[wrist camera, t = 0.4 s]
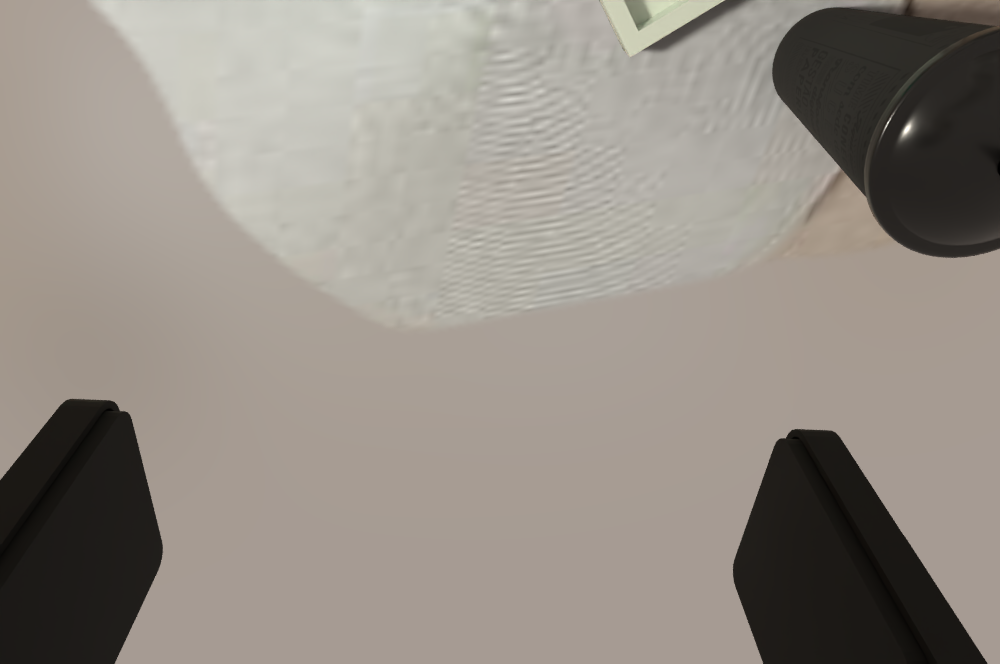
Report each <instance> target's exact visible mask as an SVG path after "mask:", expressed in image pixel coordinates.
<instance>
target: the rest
mask: <svg viewBox="0 0 1000 664" xmlns="http://www.w3.org/2000/svg"><path fill="white" fill-rule="evenodd" d="M723 1H724V0H600V2H601V4H602V6H603V9H604V11H605V13H606V15H607V17H608V19H609V21H610V23H611V25H612V27H613V29H614V31H615V33H616V35H617V37H618V40H619V42H620V44H621V46H622V48H623V50H624V51H625V52H626V53H627V54H628V56H629V57H631V56H633V55H635V54H636V53H638V52H640V51H641V50H643V49H645V48H646V47H648V46H650V45H651V44H653V43H655V42H656V41H658V40H660V39H661V38H663V37H665V36H666V35H668V34H670V33H671V32H673V31H675V30H676V29H678V28H680V27H681V26H683V25H684V24H686V23H688V22H689V21H691V20H693V19H694V18H696V17H698V16H699V15H701V14H703V13H704V12H706V11H708V10H709V9H711V8H713V7H714V6H716V5H718V4H719V3H721V2H723Z"/></svg>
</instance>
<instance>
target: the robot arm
mask: <svg viewBox="0 0 1000 664" xmlns="http://www.w3.org/2000/svg"><path fill="white" fill-rule="evenodd" d="M162 553H163V545H162V540H161V536H160V532H159V528H158V524H157V519H156V515H155V512H154V507H153V503H152V499H151V495H150V491H149V487H148V483H147V479H146V475H145V471H144V467H143V463H142V459H141V455H140V451H139V447H138V443H137V439H136V435H135V431H134V427H133V423H132V419H131V417H130V415H129V414H128V412H125V411H120V410H119V408H118V406H117V404H116V403H115V402H113V401H109V400H108V401H107V400H85V399H69V400H66V401H65V402H64V403H63V404H61V405H60V407H59V408H58V409H57V410H56V412H55V413H54V414H53V415H52V417H51V418H50V419H49V420H48V422H47V423H46V424H45V425H44V427H43V428H42V429H41V430H40V432H39V433H38V434H37V435H36V437H35V438H34V439H33V440H32V441H31V443H30V444H29V445H28V446H27V448H26V449H25V450H24V451H23V453H22V454H21V455H20V457H19V458H18V459H17V460H16V461H15V463H14V464H13V465H12V466H11V468H10V469H9V470H8V471H7V473H6V474H5V475H4V476H3V478H2V479H1V480H0V664H115V661H116V659H117V657H118V655H119V653H120V651H121V648H122V647H123V644H124V642H125V640H126V638H127V636H128V634H129V632H130V629H131V627H132V625H133V623H134V621H135V619H136V617H137V614H138V612H139V610H140V608H141V606H142V604H143V601H144V599H145V597H146V595H147V593H148V591H149V589H150V587H151V584H152V582H153V580H154V578H155V576H156V574H157V572H158V569H159V567H160V564H161V560H162ZM733 577H734V583H735V587H736V590H737V592H738V595H739V598H740V600H741V603H742V606H743V609H744V611H745V614H746V617H747V620H748V623H749V625H750V628H751V631H752V633H753V636H754V639H755V642H756V644H757V647H758V650H759V653H760V655H761V658H762V661H763V664H987V662H986V661H985V659H984V658H983V656H982V654H981V653H980V651H979V650H978V648H977V647H976V645H975V644H974V642H973V641H972V639H971V638H970V636H969V635H968V633H967V632H966V630H965V628H964V627H963V625H962V624H961V622H960V621H959V619H958V618H957V616H956V615H955V613H954V611H953V610H952V608H951V607H950V605H949V604H948V602H947V601H946V600H945V598H944V596H943V595H942V593H941V592H940V590H939V588H938V587H937V585H936V584H935V582H934V581H933V579H932V578H931V576H930V575H929V573H928V572H927V570H926V568H925V567H924V565H923V564H922V562H921V561H920V559H919V558H918V556H917V555H916V553H915V552H914V550H913V548H912V547H911V545H910V544H909V542H908V541H907V539H906V538H905V536H904V535H903V534H902V532H901V531H900V529H899V528H898V526H897V524H896V523H895V521H894V520H893V518H892V517H891V515H890V514H889V512H888V511H887V509H886V508H885V506H884V505H883V503H882V502H881V500H880V499H879V497H878V495H877V494H876V492H875V491H874V489H873V488H872V486H871V484H870V483H869V481H868V480H867V479H866V477H865V476H864V474H863V472H862V471H861V469H860V468H859V466H858V464H857V463H856V461H855V460H854V458H853V457H852V455H851V454H850V452H849V451H848V449H847V448H846V446H845V445H844V443H843V441H842V440H841V438H840V437H839V436H838V435H837V434H836V433H835V432H833V431H827V430H804V429H802V430H801V429H795V430H792V431H791V432H790V433H789V434H788V435H787V437H786V439H785V438H783V439H779V440H778V441H777V442H776V444H775V446H774V449H773V451H772V454H771V457H770V460H769V463H768V466H767V469H766V472H765V474H764V477H763V480H762V483H761V486H760V489H759V491H758V494H757V497H756V500H755V503H754V506H753V508H752V511H751V514H750V517H749V520H748V523H747V525H746V528H745V531H744V534H743V537H742V540H741V543H740V546H739V548H738V551H737V554H736V557H735V560H734V564H733Z"/></svg>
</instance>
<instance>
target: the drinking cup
mask: <svg viewBox="0 0 1000 664" xmlns="http://www.w3.org/2000/svg"><path fill="white" fill-rule="evenodd" d="M772 74H773V82H774V86H775V89H776V91H777V93H778V95H779V96H780V98H781V99H782V100H783V102H784V103H785V104H786V105H787V106H788V107H789V108H790V110H791V111H792V112H793V113H794V114H795V115H796V117H797V118H798V119H799V120H800V121H801V122H802V124H803V125H804V126H805V127H806V128H807V129H808V130H809V132H810V133H811V134H812V135H813V136H814V137H815V139H816V140H817V141H818V142H819V143H820V144H821V146H822V147H823V148H824V149H825V150H826V151H827V152H828V154H829V155H830V156H831V157H832V158H833V159H834V161H835V162H836V163H837V164H838V165H839V166H840V167H841V169H842V170H843V171H844V172H845V173H846V174H847V176H848V177H849V178H850V179H851V180H852V181H853V183H854V184H855V185H856V186H857V187H858V188H859V189H860V191H861V192H862V193H863V194H864V195H865V196H866V198H867V201H868V204H869V207H870V210H871V212H872V214H873V216H874V218H875V219H876V221H877V222H878V224H879V225H880V226H881V227H882V228H883V230H884V231H885V232H886V233H887V234H888V235H889V236H891V237H892V238H893V239H894V240H895V241H897V242H898V243H900V244H901V245H903V246H904V247H906V248H908V249H910V250H913V251H915V252H918V253H921V254H925V255H929V256H936V257H948V258H957V257H968V256H975V255H979V254H984V253H988V252H991V251H994V250H997V249H1000V26H988V25H980V24H972V23H963V22H955V21H947V20H938V19H930V18H921V17H913V16H905V15H896V14H888V13H879V12H871V11H863V10H854V9H846V8H826V9H822V10H819V11H816V12H814V13H811V14H809V15H808V16H806V17H804V18H803V19H801V20H800V21H799V22H797V23H796V24H795V25H794V26H793V27H792V28H791V29H790V30H789V31H788V33H787V34H786V35H785V37H784V38H783V40H782V41H781V43H780V45H779V47H778V49H777V52H776V54H775V58H774V62H773V72H772Z"/></svg>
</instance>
